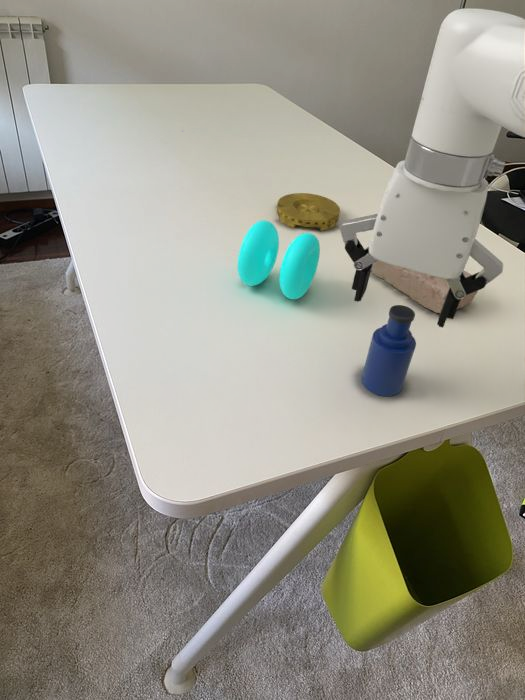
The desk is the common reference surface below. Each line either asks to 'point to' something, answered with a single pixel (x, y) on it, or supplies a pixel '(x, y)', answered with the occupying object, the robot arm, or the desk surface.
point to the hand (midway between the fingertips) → (399, 308)
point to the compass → (308, 211)
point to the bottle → (390, 353)
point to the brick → (418, 285)
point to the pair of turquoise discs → (263, 252)
